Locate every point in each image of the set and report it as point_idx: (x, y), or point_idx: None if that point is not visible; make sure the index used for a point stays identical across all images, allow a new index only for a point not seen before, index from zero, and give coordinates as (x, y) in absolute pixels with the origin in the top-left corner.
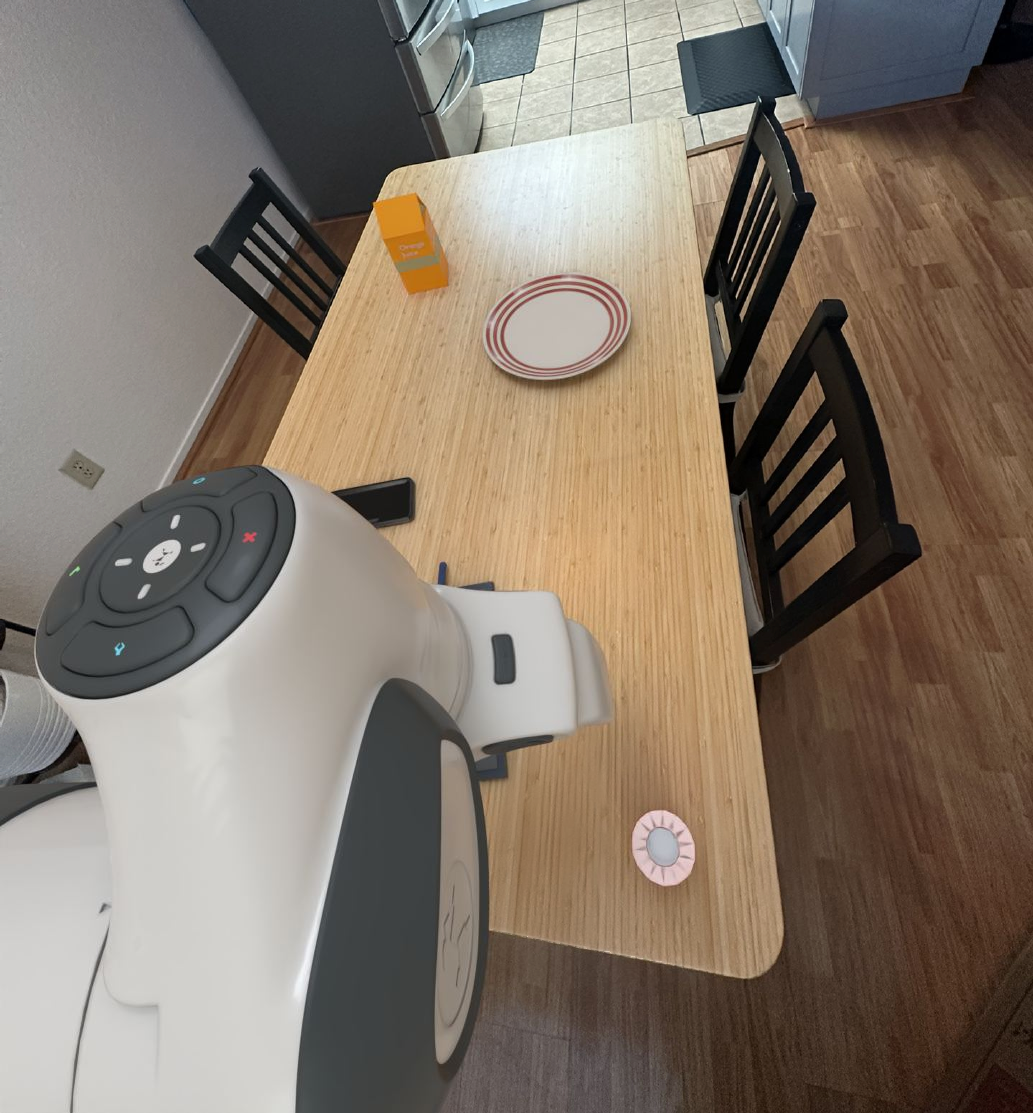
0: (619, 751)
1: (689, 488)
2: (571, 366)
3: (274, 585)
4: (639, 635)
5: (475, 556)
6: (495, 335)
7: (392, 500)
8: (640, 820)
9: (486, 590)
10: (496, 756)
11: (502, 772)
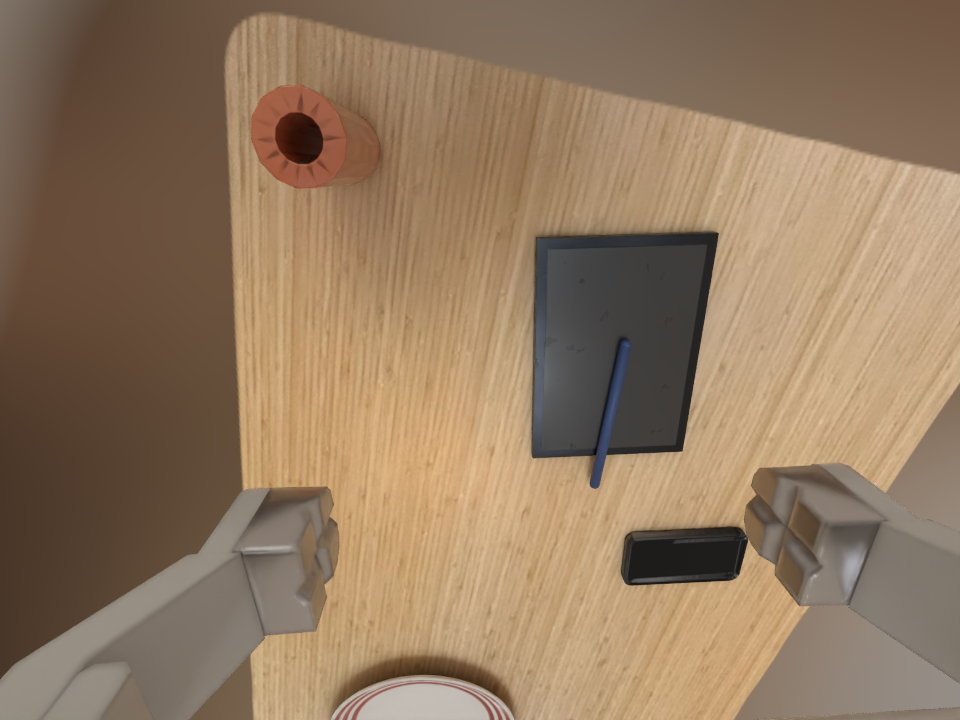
0: (392, 254)
1: None
2: (407, 683)
3: None
4: (354, 378)
5: (552, 485)
6: None
7: (652, 561)
8: (330, 175)
9: (541, 448)
10: (547, 262)
11: (541, 244)
